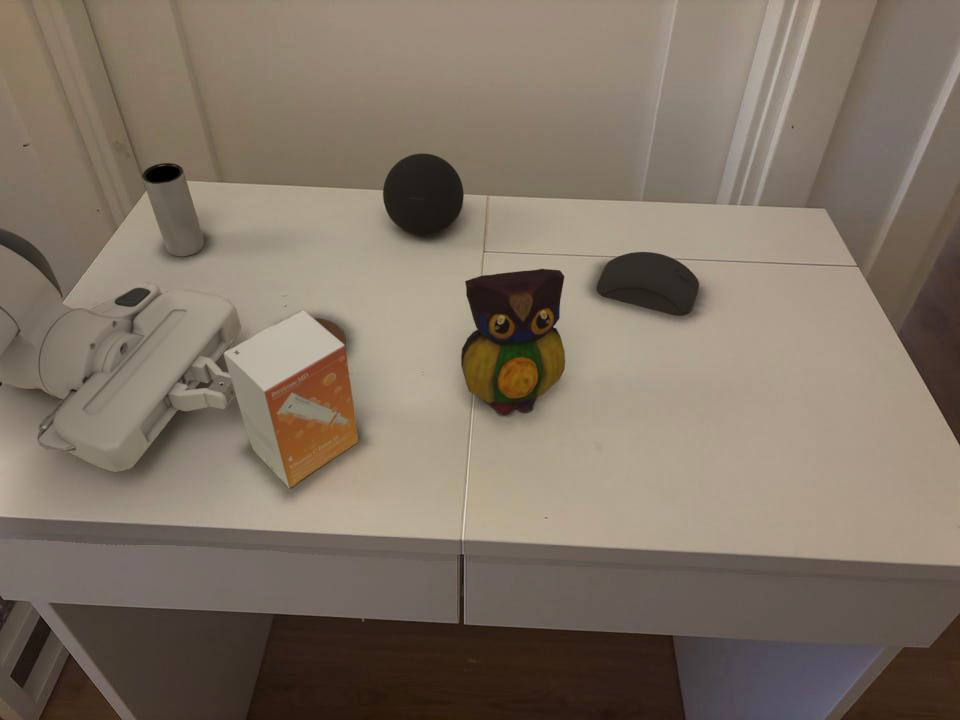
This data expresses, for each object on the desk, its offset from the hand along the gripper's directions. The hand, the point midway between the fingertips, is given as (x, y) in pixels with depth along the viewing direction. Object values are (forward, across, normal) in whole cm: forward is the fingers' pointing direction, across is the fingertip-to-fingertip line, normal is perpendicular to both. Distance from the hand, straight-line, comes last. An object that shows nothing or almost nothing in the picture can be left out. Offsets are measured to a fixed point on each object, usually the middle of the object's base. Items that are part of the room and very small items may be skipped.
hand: (232, 392), depth 68 cm
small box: (+6, 0, +6) cm, 9 cm away
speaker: (+5, +37, +6) cm, 38 cm away
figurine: (+23, +12, +6) cm, 27 cm away
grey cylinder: (-22, +24, +6) cm, 33 cm away
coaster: (0, +13, +6) cm, 14 cm away
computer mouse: (+34, +34, +6) cm, 48 cm away
